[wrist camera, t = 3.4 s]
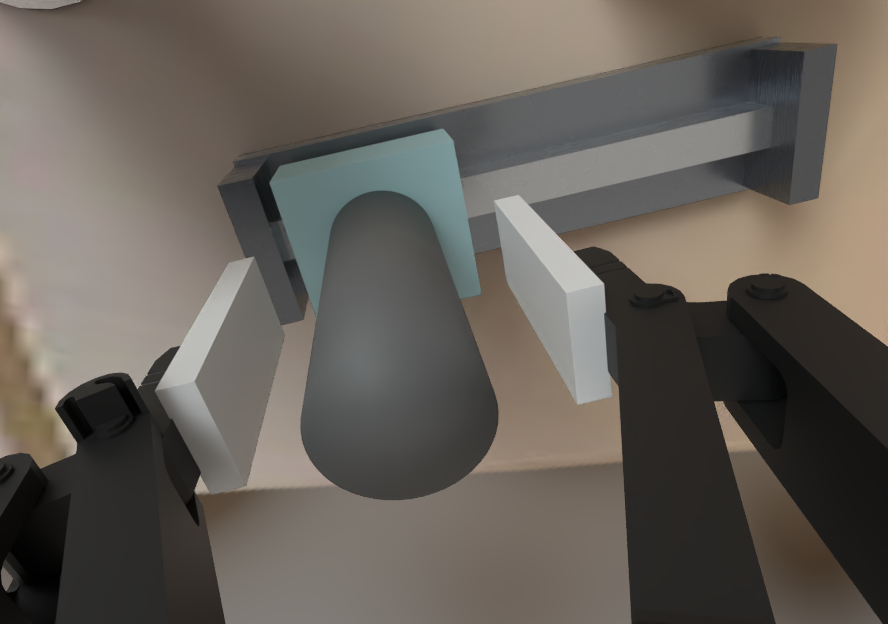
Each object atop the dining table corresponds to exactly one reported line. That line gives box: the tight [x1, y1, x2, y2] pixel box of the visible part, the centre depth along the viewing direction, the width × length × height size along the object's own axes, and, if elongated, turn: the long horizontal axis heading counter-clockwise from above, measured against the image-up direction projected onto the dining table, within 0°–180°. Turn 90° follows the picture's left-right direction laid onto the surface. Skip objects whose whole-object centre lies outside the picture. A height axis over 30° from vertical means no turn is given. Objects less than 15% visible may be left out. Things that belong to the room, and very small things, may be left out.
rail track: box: [218, 37, 837, 325], centre depth 22 cm, size 22×6×4 cm, turn 101°
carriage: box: [270, 129, 498, 500], centre depth 16 cm, size 6×6×13 cm
